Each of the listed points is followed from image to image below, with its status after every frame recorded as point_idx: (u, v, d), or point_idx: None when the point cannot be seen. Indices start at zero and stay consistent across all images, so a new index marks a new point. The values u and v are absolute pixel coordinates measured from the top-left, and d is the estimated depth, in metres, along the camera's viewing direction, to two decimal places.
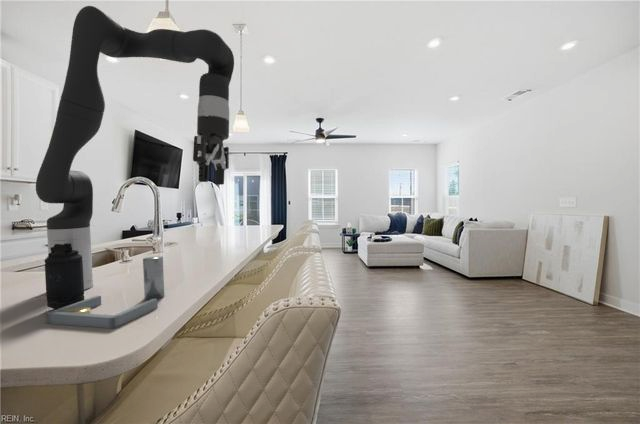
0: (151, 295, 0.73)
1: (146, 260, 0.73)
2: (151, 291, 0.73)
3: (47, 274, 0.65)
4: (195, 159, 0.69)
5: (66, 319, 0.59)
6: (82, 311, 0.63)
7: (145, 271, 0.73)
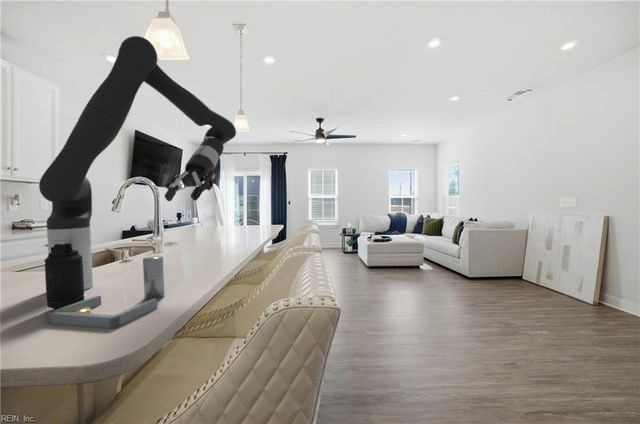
0: (151, 295, 0.73)
1: (146, 260, 0.73)
2: (151, 291, 0.73)
3: (47, 274, 0.65)
4: (207, 184, 0.86)
5: (66, 319, 0.59)
6: (82, 311, 0.63)
7: (145, 271, 0.73)
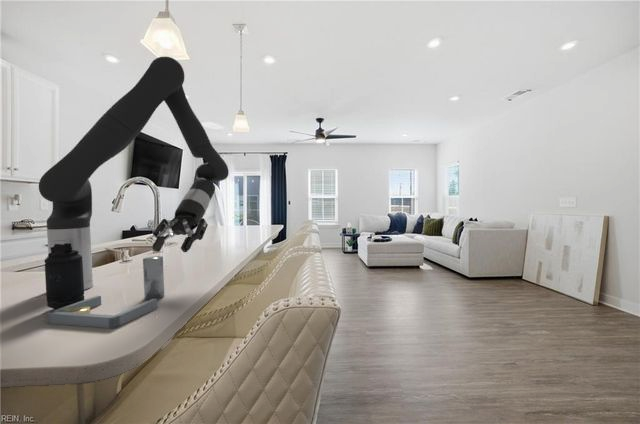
0: (151, 295, 0.73)
1: (146, 260, 0.73)
2: (151, 291, 0.73)
3: (47, 274, 0.65)
4: (198, 234, 0.82)
5: (66, 319, 0.59)
6: (83, 310, 0.63)
7: (145, 271, 0.73)
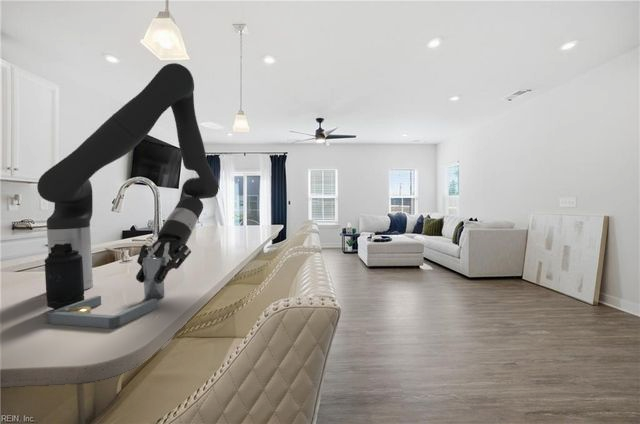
0: (151, 295, 0.73)
1: (146, 260, 0.73)
2: (151, 291, 0.73)
3: (47, 274, 0.65)
4: (173, 264, 0.75)
5: (66, 319, 0.59)
6: (86, 309, 0.64)
7: (145, 271, 0.73)
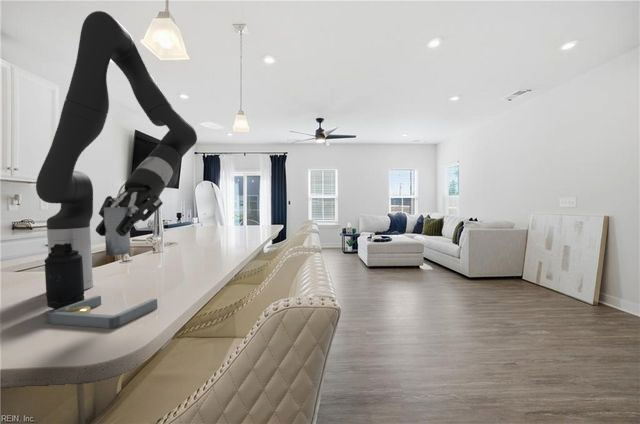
0: (113, 250, 0.63)
1: (107, 208, 0.62)
2: (113, 244, 0.63)
3: (47, 274, 0.65)
4: (140, 214, 0.64)
5: (66, 319, 0.59)
6: (85, 307, 0.64)
7: (106, 221, 0.62)
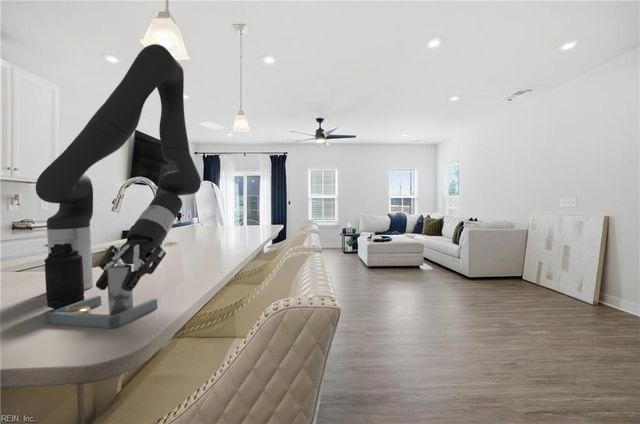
0: (116, 311, 0.63)
1: (110, 270, 0.63)
2: (116, 306, 0.63)
3: (47, 274, 0.65)
4: (147, 268, 0.65)
5: (66, 319, 0.59)
6: (82, 307, 0.64)
7: (109, 283, 0.63)
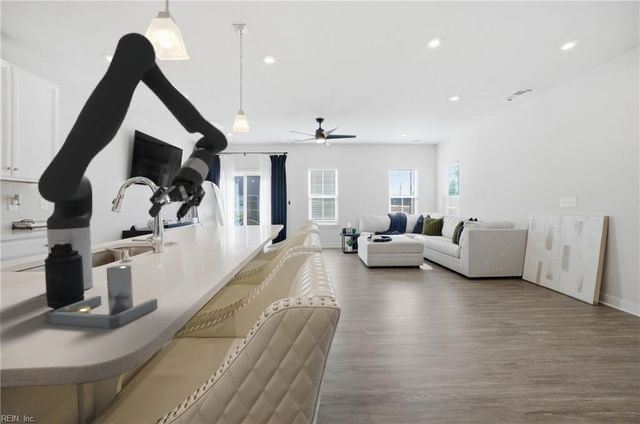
0: (116, 311, 0.63)
1: (110, 270, 0.63)
2: (116, 306, 0.63)
3: (47, 274, 0.65)
4: (195, 201, 0.81)
5: (66, 319, 0.59)
6: (77, 308, 0.64)
7: (109, 283, 0.63)
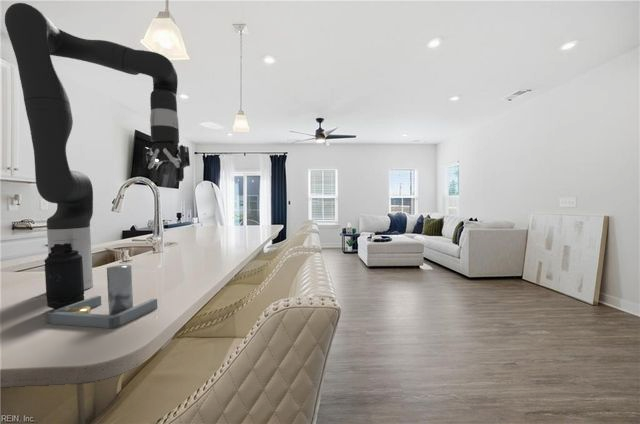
0: (116, 310, 0.63)
1: (110, 270, 0.63)
2: (116, 305, 0.63)
3: (47, 274, 0.65)
4: (185, 164, 0.88)
5: (66, 319, 0.59)
6: (72, 309, 0.63)
7: (109, 282, 0.63)
